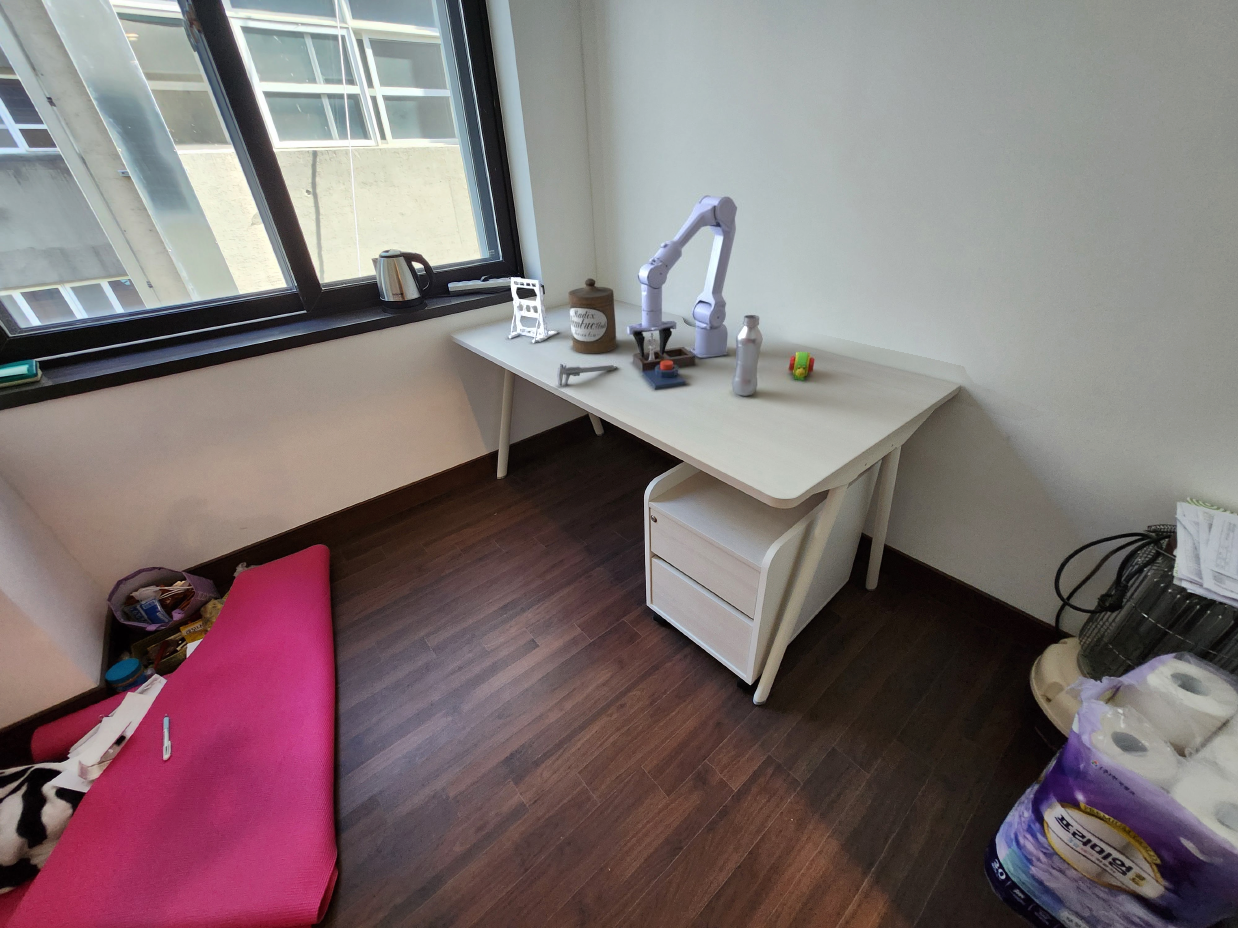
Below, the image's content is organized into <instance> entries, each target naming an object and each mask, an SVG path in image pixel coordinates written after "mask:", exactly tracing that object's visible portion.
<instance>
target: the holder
mask: <svg viewBox="0 0 1238 928" xmlns="http://www.w3.org/2000/svg"><path fill="white" fill-rule="evenodd" d="M649 357H650V350H649V351H644V357H641V356H640V353H639V352H634V353H633V352H632V362H633V365H634V366H635V367H636V368H637V369H638V371H640V372H641V373H642V372H644V371H651V370H655V367H656V366H657V365H660V363H661V361H664V360H670V361H673V364H674V365H677V366H678V367H679V368H686V367H693V366H696V355H695V354H694V353H692V352H691V351H690V350H689V349H687V348H686V347H684V346H679V347H672V348H665V352H664V355H662V354H661V353H660V350H659V349H656V350H655V349H654V358H655V360H649Z"/></svg>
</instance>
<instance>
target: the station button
mask: <svg viewBox="0 0 1238 928" xmlns="http://www.w3.org/2000/svg"><path fill="white" fill-rule="evenodd" d="M660 369H661V370H667V371H668V370H672V369H673V361H670V360H664V361H661V363H660Z"/></svg>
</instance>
